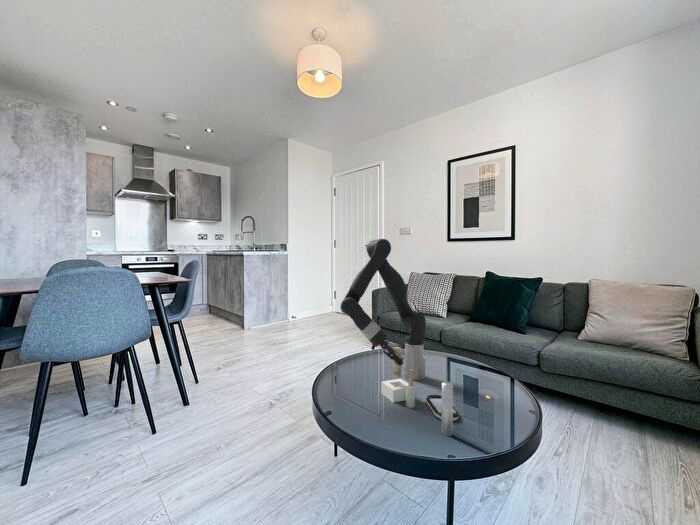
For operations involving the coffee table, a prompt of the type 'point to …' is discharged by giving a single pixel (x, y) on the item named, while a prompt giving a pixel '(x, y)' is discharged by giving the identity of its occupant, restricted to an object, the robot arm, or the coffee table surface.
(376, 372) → the coffee table surface
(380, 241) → the robot arm
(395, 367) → the birch pin
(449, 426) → the aluminium pin
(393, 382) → the socket block
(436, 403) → the gaming console
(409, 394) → the sage pin
